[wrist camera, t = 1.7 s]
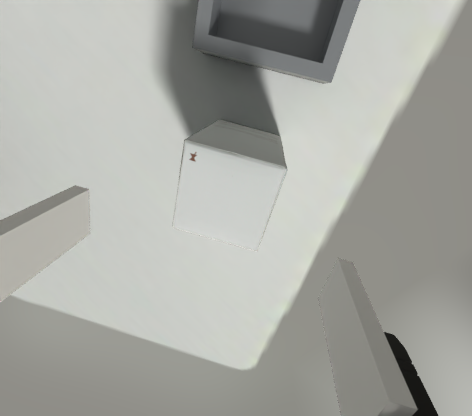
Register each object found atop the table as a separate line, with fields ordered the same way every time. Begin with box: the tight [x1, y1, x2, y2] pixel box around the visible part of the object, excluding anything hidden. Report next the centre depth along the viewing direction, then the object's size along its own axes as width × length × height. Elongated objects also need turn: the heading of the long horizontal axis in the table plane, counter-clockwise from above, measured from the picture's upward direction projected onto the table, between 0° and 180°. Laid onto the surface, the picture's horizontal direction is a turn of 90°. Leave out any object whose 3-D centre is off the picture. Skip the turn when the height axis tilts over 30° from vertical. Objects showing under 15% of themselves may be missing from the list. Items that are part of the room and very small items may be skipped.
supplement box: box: [172, 119, 287, 251], centre depth 24 cm, size 7×7×13 cm
